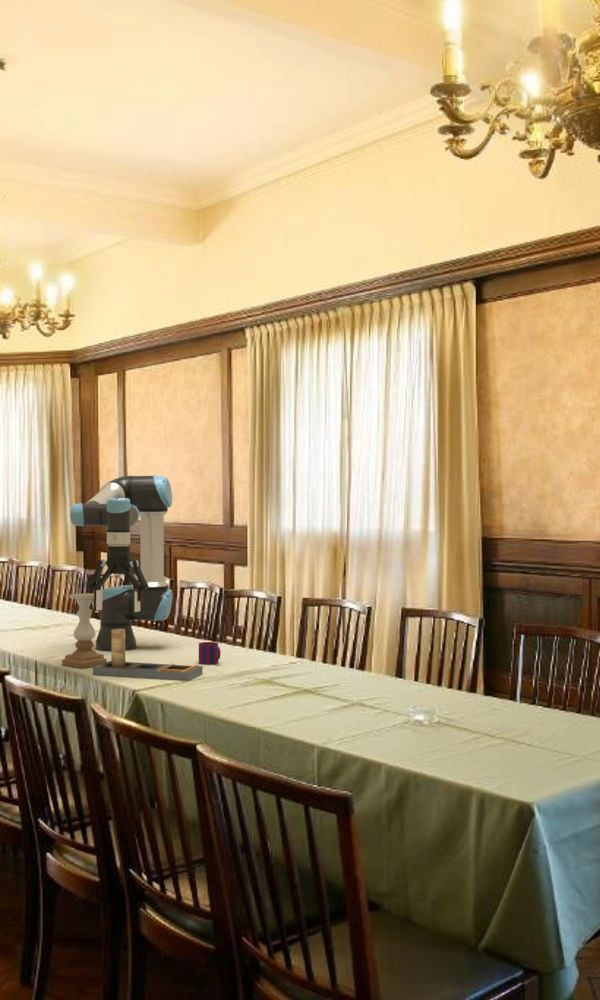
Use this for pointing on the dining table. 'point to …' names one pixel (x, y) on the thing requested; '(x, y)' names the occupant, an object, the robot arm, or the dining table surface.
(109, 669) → the grey peg board
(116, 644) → the peg
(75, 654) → the candle holder
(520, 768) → the dining table surface
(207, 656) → the mug
